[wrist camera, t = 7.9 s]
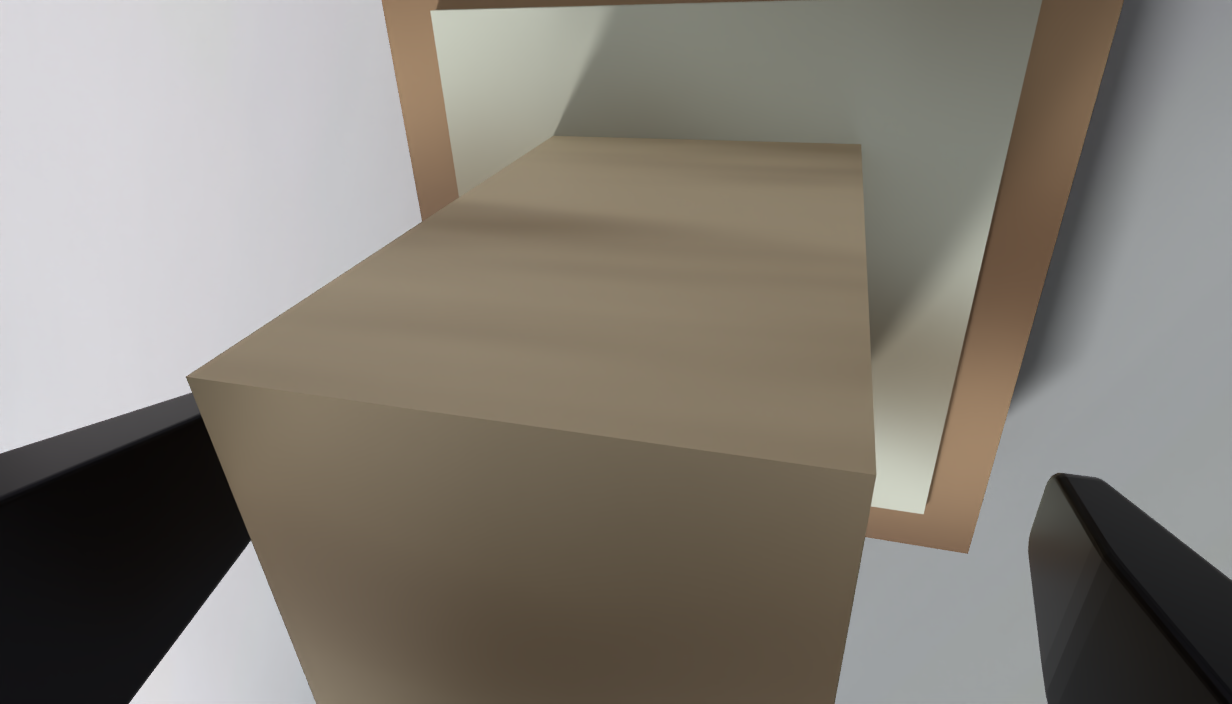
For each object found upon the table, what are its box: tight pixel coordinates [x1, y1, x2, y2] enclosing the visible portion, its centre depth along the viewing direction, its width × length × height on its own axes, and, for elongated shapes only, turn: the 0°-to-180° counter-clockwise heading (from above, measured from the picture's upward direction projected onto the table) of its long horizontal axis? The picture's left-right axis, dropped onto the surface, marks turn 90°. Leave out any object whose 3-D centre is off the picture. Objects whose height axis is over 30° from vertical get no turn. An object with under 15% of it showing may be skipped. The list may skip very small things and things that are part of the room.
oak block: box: [186, 136, 877, 704], centre depth 9 cm, size 5×5×8 cm
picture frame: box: [382, 0, 1124, 554], centre depth 14 cm, size 11×11×3 cm
